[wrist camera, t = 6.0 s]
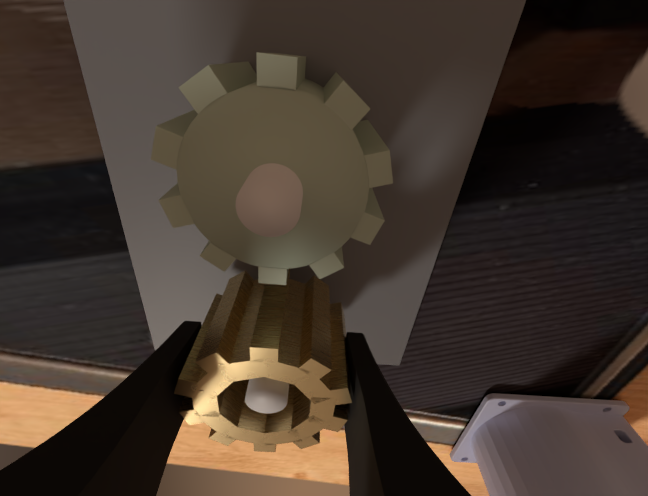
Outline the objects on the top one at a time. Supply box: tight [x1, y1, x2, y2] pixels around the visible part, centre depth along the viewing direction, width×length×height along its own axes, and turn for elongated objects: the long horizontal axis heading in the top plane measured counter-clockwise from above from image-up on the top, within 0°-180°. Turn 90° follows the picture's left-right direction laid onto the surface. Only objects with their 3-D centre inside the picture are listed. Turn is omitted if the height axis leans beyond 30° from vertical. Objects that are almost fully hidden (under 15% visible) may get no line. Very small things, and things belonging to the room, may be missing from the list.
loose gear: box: [174, 269, 352, 452], centre depth 12 cm, size 6×6×4 cm
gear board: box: [63, 0, 526, 413], centre depth 10 cm, size 13×18×6 cm
